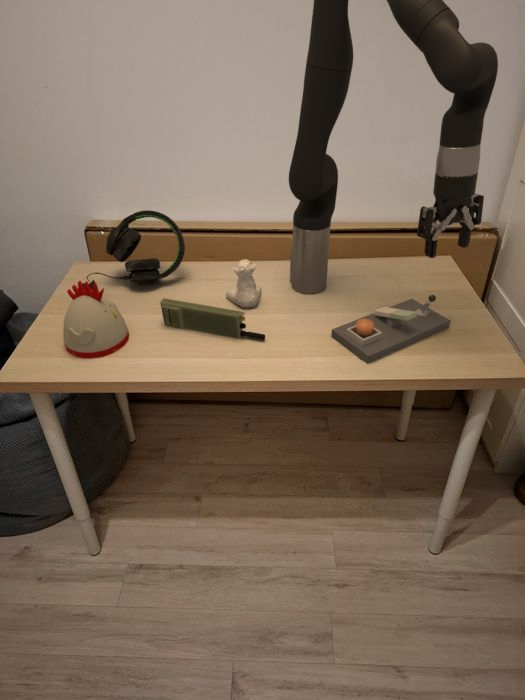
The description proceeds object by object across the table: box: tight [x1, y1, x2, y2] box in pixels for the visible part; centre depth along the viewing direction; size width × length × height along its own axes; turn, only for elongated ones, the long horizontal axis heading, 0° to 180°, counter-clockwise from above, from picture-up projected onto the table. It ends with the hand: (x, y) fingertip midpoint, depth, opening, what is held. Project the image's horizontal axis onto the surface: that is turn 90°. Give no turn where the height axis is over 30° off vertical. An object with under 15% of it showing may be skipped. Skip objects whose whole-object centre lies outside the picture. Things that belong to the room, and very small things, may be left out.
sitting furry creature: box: [225, 258, 262, 309], centre depth 119 cm, size 10×9×12 cm
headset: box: [82, 209, 186, 290], centre depth 125 cm, size 18×14×29 cm
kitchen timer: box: [62, 280, 130, 359], centre depth 105 cm, size 14×14×15 cm
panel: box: [330, 297, 452, 365], centre depth 109 cm, size 12×25×4 cm, turn 122°
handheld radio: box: [159, 297, 266, 341], centre depth 110 cm, size 7×3×25 cm
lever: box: [421, 294, 437, 312], centre depth 110 cm, size 2×2×6 cm
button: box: [356, 318, 374, 336], centre depth 104 cm, size 4×4×2 cm
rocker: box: [373, 306, 417, 321], centre depth 108 cm, size 10×3×1 cm, turn 32°
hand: (446, 251), depth 99 cm, fingers open, 8 cm apart
